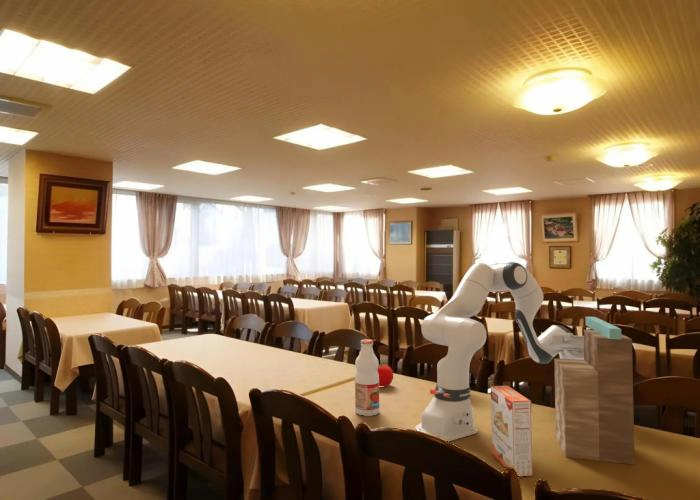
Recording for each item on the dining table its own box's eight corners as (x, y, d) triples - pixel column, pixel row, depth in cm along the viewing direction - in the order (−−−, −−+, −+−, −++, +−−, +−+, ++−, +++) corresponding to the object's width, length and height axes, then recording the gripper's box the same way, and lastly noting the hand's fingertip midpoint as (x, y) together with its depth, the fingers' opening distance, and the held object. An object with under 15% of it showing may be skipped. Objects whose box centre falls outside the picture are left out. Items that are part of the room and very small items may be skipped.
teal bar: (585, 325, 147) (585, 316, 147) (595, 325, 146) (595, 316, 146) (609, 338, 122) (609, 328, 122) (621, 339, 121) (621, 329, 121)
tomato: (363, 385, 197) (363, 363, 197) (380, 380, 205) (379, 359, 205) (382, 391, 188) (381, 368, 189) (398, 386, 196) (398, 364, 197)
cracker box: (490, 454, 128) (489, 385, 128) (509, 453, 128) (508, 384, 129) (512, 478, 114) (511, 400, 114) (533, 477, 114) (532, 400, 115)
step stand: (555, 436, 140) (553, 328, 141) (616, 442, 135) (614, 330, 136) (565, 456, 126) (563, 336, 126) (634, 464, 121) (631, 339, 122)
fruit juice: (358, 407, 169) (357, 337, 170) (381, 408, 167) (380, 338, 167) (352, 415, 160) (352, 342, 160) (377, 417, 158) (376, 343, 158)
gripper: (547, 338, 169) (553, 326, 158) (604, 341, 163) (614, 328, 152) (549, 354, 166) (555, 342, 154) (607, 357, 160) (618, 345, 149)
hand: (585, 335), depth 153 cm, fingers open, 8 cm apart
